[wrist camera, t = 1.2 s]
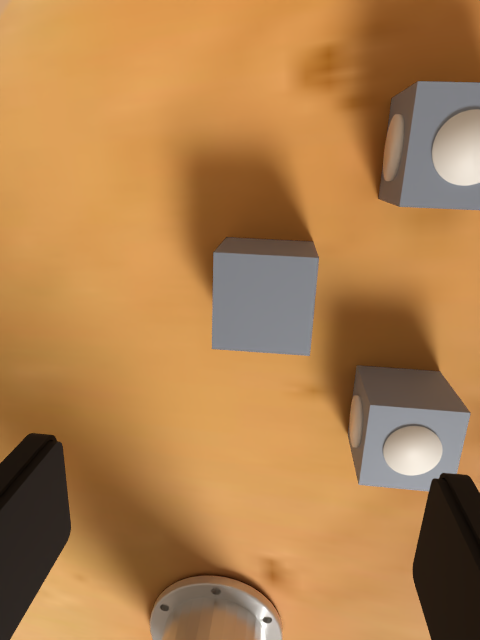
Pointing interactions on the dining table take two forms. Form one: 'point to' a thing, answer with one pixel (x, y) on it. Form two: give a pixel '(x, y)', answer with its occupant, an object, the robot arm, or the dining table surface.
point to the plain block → (264, 295)
